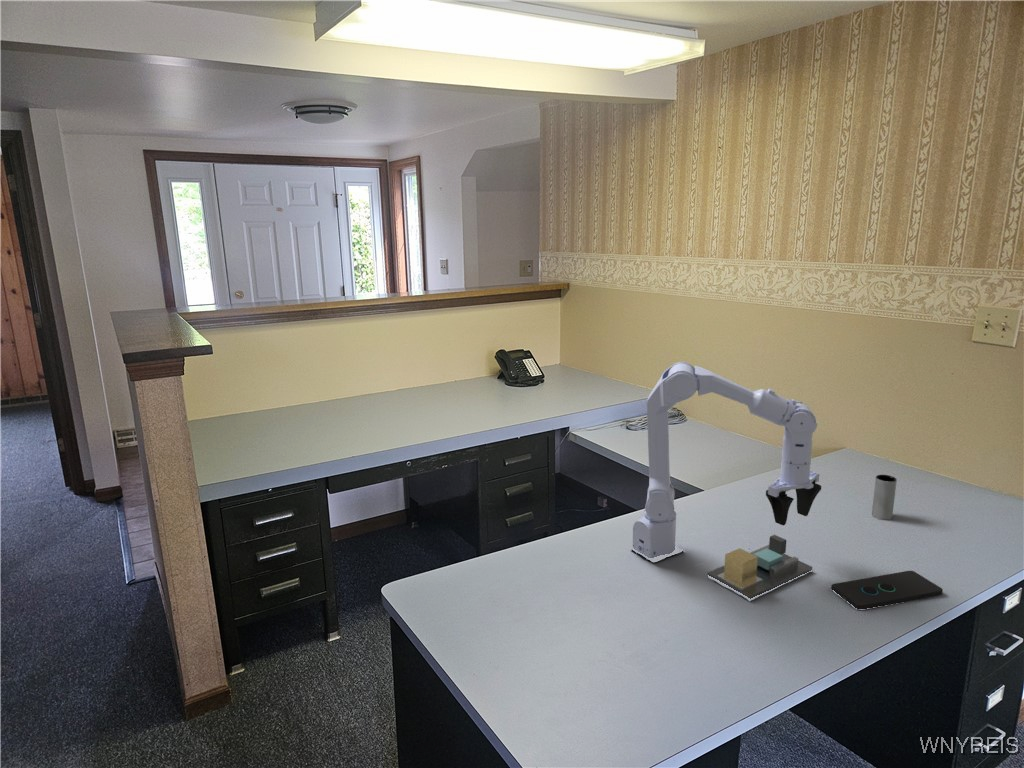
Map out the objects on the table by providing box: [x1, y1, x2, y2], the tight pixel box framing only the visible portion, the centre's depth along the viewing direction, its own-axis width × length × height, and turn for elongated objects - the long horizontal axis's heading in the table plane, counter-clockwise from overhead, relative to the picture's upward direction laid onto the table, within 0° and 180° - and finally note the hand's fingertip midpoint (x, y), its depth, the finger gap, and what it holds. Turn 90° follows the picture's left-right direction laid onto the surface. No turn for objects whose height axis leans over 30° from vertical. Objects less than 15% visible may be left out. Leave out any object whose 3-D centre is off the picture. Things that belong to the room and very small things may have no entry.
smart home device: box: [830, 570, 944, 610], centre depth 131 cm, size 8×2×20 cm
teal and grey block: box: [753, 534, 787, 570], centre depth 140 cm, size 6×4×5 cm, turn 122°
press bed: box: [707, 544, 813, 599], centre depth 139 cm, size 20×11×3 cm, turn 122°
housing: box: [724, 548, 758, 585], centre depth 135 cm, size 4×4×5 cm
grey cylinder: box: [871, 474, 897, 521], centre depth 163 cm, size 4×4×10 cm
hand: (791, 518), depth 141 cm, fingers open, 7 cm apart
